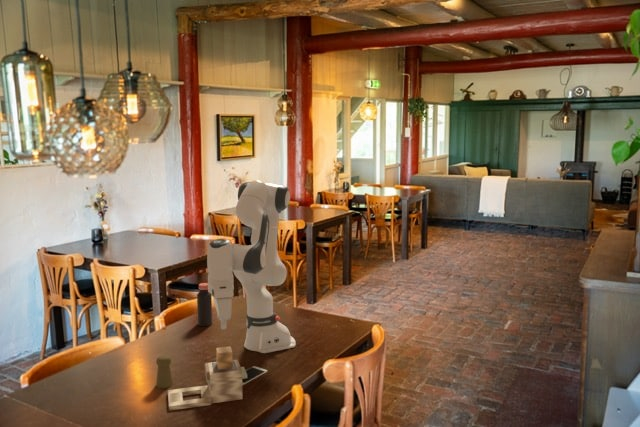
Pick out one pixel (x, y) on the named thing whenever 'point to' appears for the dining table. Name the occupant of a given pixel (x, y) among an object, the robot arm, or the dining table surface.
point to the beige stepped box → (211, 388)
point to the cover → (207, 373)
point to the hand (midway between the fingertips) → (222, 323)
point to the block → (224, 358)
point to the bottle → (204, 305)
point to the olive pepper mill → (164, 372)
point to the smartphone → (253, 374)
